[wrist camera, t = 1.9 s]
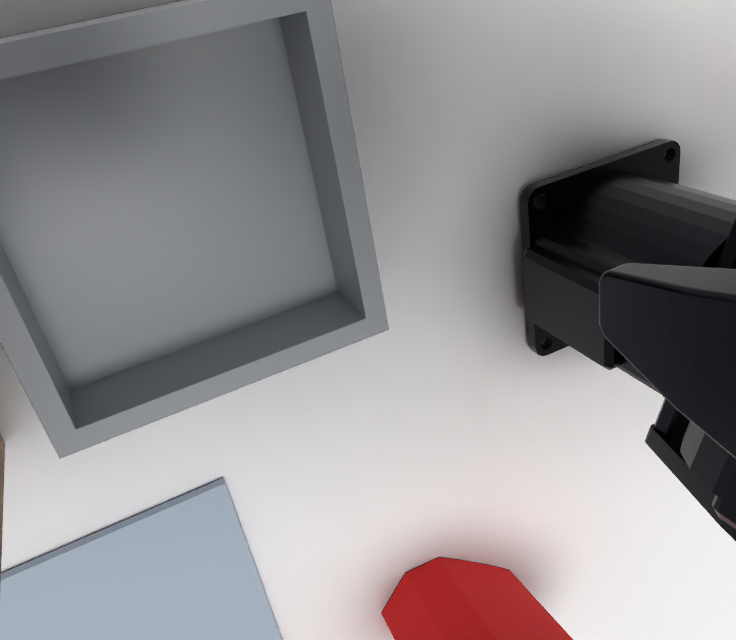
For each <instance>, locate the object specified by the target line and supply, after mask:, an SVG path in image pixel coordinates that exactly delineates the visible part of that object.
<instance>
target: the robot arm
mask: <svg viewBox="0 0 736 640" xmlns="http://www.w3.org/2000/svg"><path fill="white" fill-rule="evenodd" d="M665 152H666V154H665ZM664 154H665V156H664ZM679 165H680V146H679V144H678V143H677V142H675V141H673V140H668V139H661V140H658V141H655V142H652V143H649V144H646V145H643V146H640V147H637V148H635V149H632V150H629V151H626V152H623V153H620V154H617V155H614V156H611V157H608V158H606V159H603V160H600V161H597V162H594V163H591V164H588V165H585V166H582V167H579V168H577V169H574V170H571V171H568V172H565V173H562V174H559V175H556V176H553V177H550V178H548V179H545V180H542V181H539V182H536V183H533V184H531V185H529V186H528V187H527V188H526V189H525V190H524V191H523V193H522V196H521V201H520V205H521V222H522V239H523V258H522V260H523V277H524V293H525V310H526V318H527V323H528V339H529V347H530V349H531V350H532V351H534V352H535V353H537V354H538V355H540V356H546V355H549V354H551V353H553V352H556V351H558V350H560V349H562V348H565V347H567V346H571V347H572V348H574V349H576V350H577V351H579V352H580V353H582V354H584V355H585V356H587V357H588V358H590V359H591V360H593V361H595V362H596V363H598V364H599V365H601V366H603V367H604V368H606V369H609V370H611V369H613V368H616V367H618V368H619V369H621V370H623V371H624V372H626V373H628V374H629V375H631V376H632V377H634V378H636V379H637V380H639V381H641V382H642V383H644V384H645V385H647V386H649V387H650V388H652V389H654V390H655V391H657V392H658V393H660V394H662V395H663V396H664V397H665V399H664V402H663V405H662V407H661V410H660V412H659V415H658V417H657V420H656V422H655V424H653V425H651V427H650V429H649V432H648V434H647V437H646V440H645V442H646V444H647V445H648V446H649V447H650V448H651V449H652V450H653V451H654V453H655V454H656V455H657V456H658V457H659V458H660V459H661V460H662V461H663V463H664V464H665V465H666V466H667V467H668V468H669V469H670V470H671V471H672V473H673V474H674V475H675V476H676V477H677V478H678V479H679V480H680V481H681V483H682V484H683V485H684V486H685V487H686V488H687V489H688V490H689V492H690V493H691V494H692V495H693V496H694V497H695V498H696V499H697V500H698V502H699V503H700V504H701V505H702V506H703V507H704V508H705V509H706V510H707V512H708V513H709V514H710V515H711V516H712V517H713V518H714V519H715V521H716V522H717V523H718V524H719V525H720V526H721V527H722V528H723V529H724V530H725V531H726V532H727V533H728V534H729V535H730V536H731V537H732V538H733V539H734V540H735V541H736V201H735V200H731V199H728V198H724V197H721V196H717V195H714V194H710V193H706V192H703V191H699V190H696V189H692V188H689V187H685V186H681V185H678V181H679ZM537 195H539V200H538V202H537V203H536V204H535V205H534V201H535V198H536V197H537ZM544 339H545V341H544V342H543V340H544ZM542 342H543V343H542Z"/></svg>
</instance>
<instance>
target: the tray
mask: <svg viewBox="0 0 736 640" xmlns="http://www.w3.org/2000/svg"><path fill="white" fill-rule="evenodd" d="M386 330H389V328H388V322H387V317H386V311H385V305H384V300H383V294H382V288H381V283H380V277H379V272H378V266H377V260H376V255H375V249H374V243H373V238H372V232H371V226H370V221H369V215H368V210H367V204H366V198H365V193H364V187H363V181H362V176H361V170H360V165H359V159H358V153H357V148H356V142H355V136H354V131H353V125H352V119H351V114H350V108H349V103H348V97H347V91H346V86H345V80H344V74H343V69H342V63H341V58H340V52H339V46H338V41H337V35H336V29H335V24H334V18H333V12H332V7H331V1H330V0H181V1H177V2H172V3H167V4H162V5H157V6H153V7H148V8H143V9H138V10H133V11H129V12H124V13H119V14H114V15H109V16H105V17H100V18H95V19H90V20H85V21H81V22H76V23H71V24H66V25H61V26H56V27H52V28H47V29H42V30H37V31H32V32H28V33H23V34H18V35H13V36H8V37H4V38H0V343H1V345H2V347H3V349H4V351H5V353H6V355H7V357H8V359H9V361H10V363H11V365H12V367H13V369H14V371H15V372H16V374H17V376H18V378H19V380H20V382H21V384H22V386H23V388H24V390H25V392H26V394H27V396H28V398H29V400H30V402H31V404H32V406H33V408H34V410H35V411H36V413H37V415H38V417H39V419H40V421H41V423H42V425H43V427H44V429H45V431H46V433H47V435H48V437H49V439H50V441H51V443H52V445H53V447H54V449H55V451H56V452H57V454H58V456H59V458H63V457H65V456H68V455H70V454H73V453H75V452H78V451H80V450H83V449H86V448H88V447H91V446H93V445H96V444H98V443H101V442H103V441H106V440H109V439H111V438H114V437H116V436H119V435H121V434H124V433H126V432H129V431H131V430H134V429H137V428H139V427H142V426H144V425H147V424H149V423H152V422H154V421H157V420H159V419H162V418H165V417H167V416H170V415H172V414H175V413H177V412H180V411H182V410H185V409H188V408H190V407H193V406H195V405H198V404H200V403H203V402H205V401H208V400H210V399H213V398H216V397H218V396H221V395H223V394H226V393H228V392H231V391H233V390H236V389H238V388H241V387H244V386H246V385H249V384H251V383H254V382H256V381H259V380H261V379H264V378H266V377H269V376H272V375H274V374H277V373H279V372H282V371H284V370H287V369H289V368H292V367H295V366H297V365H300V364H302V363H305V362H307V361H310V360H312V359H315V358H317V357H320V356H323V355H325V354H328V353H330V352H333V351H335V350H338V349H340V348H343V347H345V346H348V345H351V344H353V343H356V342H358V341H361V340H363V339H366V338H368V337H371V336H373V335H376V334H379V333H381V332H384V331H386Z"/></svg>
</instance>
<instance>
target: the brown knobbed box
mask: <svg viewBox="0 0 736 640" xmlns="http://www.w3.org/2000/svg"><path fill="white" fill-rule="evenodd" d="M4 459H5V443H4V441H3V439H2V437H1V435H0V586H1V555H2V523H3V491H4Z"/></svg>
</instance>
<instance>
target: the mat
mask: <svg viewBox="0 0 736 640" xmlns="http://www.w3.org/2000/svg"><path fill="white" fill-rule="evenodd" d="M0 640H282V638H281V635H280V632H279V629H278V627H277V624H276V621H275V618H274V616H273V613H272V610H271V607H270V605H269V602H268V599H267V596H266V594H265V591H264V588H263V585H262V583H261V580H260V577H259V574H258V572H257V569H256V566H255V563H254V561H253V558H252V555H251V552H250V550H249V547H248V544H247V541H246V539H245V536H244V533H243V530H242V528H241V525H240V522H239V519H238V517H237V514H236V511H235V508H234V506H233V503H232V500H231V497H230V495H229V492H228V489H227V486H226V484H225V481H224V479H223V478H221V479H219V480H217V481H214V482H212V483H210V484H207V485H205V486H203V487H200V488H198V489H196V490H193V491H191V492H189V493H186V494H184V495H182V496H179V497H177V498H175V499H173V500H170V501H168V502H166V503H163V504H161V505H159V506H156V507H154V508H152V509H149V510H147V511H145V512H142V513H140V514H138V515H135V516H133V517H131V518H128V519H126V520H124V521H121V522H119V523H117V524H114V525H112V526H110V527H107V528H105V529H103V530H101V531H98V532H96V533H94V534H91V535H89V536H87V537H84V538H82V539H80V540H77V541H75V542H73V543H70V544H68V545H66V546H63V547H61V548H59V549H56V550H54V551H52V552H49V553H47V554H45V555H42V556H40V557H38V558H35V559H33V560H31V561H29V562H26V563H24V564H22V565H19V566H17V567H15V568H12V569H10V570H8V571H5V572H3V573H1V586H0Z"/></svg>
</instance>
